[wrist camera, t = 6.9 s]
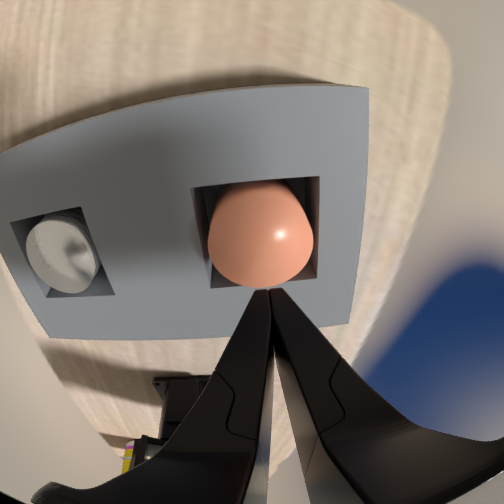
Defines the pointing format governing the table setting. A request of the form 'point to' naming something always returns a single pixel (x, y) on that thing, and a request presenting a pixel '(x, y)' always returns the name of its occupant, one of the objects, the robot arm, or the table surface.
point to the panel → (188, 206)
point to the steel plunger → (63, 251)
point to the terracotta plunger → (259, 233)
